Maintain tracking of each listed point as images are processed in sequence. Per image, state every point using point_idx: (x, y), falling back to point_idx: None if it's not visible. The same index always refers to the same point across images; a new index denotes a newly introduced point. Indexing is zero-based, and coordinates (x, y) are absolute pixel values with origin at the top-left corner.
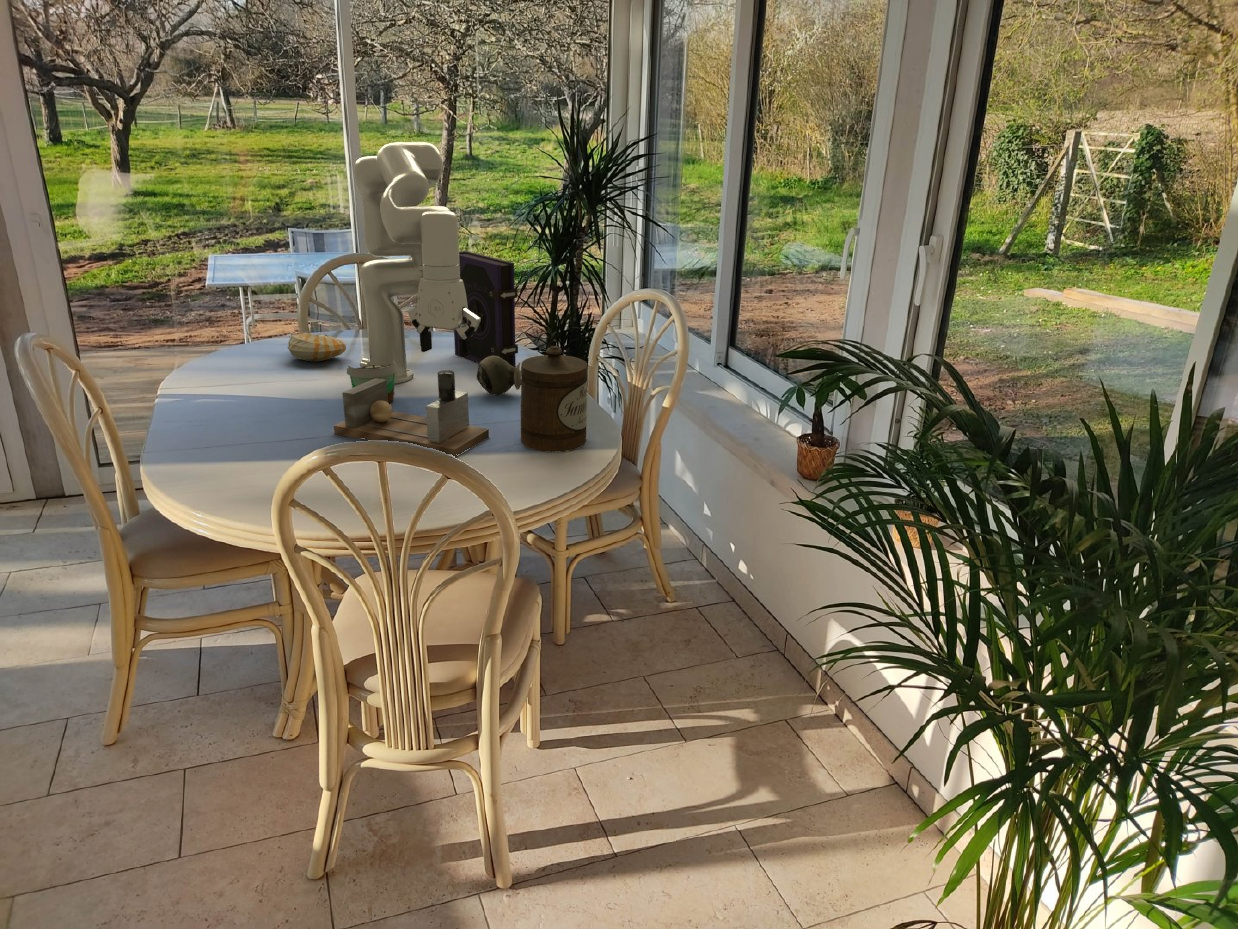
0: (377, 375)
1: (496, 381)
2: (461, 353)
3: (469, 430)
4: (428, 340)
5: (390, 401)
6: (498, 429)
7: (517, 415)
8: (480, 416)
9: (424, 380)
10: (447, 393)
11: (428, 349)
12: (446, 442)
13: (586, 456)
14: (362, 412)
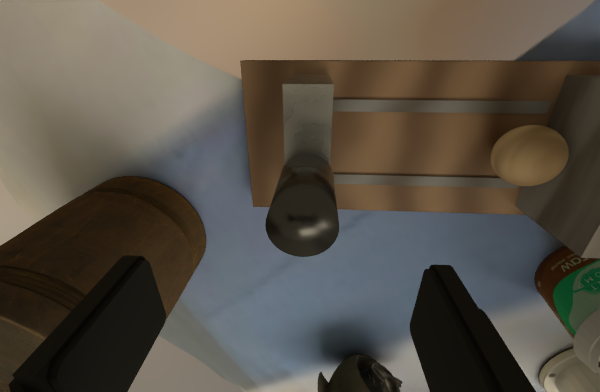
0: None
1: (348, 376)
2: (115, 269)
3: None
4: (438, 366)
5: (539, 275)
6: (265, 238)
7: (276, 301)
8: (332, 277)
9: None
10: (287, 168)
11: (417, 305)
12: None
13: (49, 189)
14: (582, 114)
